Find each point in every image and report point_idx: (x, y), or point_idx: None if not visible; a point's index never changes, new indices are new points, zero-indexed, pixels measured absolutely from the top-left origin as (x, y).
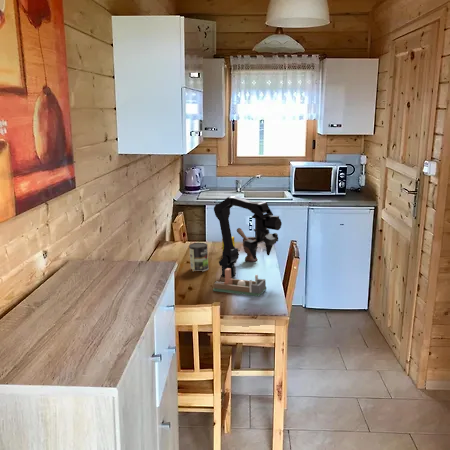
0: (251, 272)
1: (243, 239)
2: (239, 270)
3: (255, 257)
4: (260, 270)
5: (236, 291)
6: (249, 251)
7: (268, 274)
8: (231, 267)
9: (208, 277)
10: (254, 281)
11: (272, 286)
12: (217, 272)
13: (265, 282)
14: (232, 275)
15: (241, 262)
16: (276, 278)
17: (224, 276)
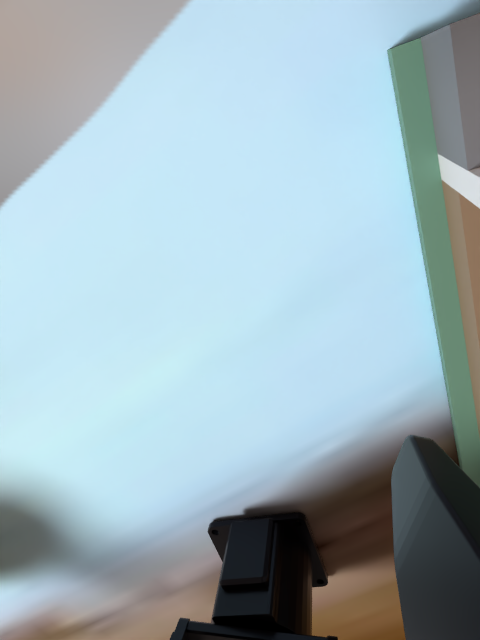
0: (102, 447)
1: None
2: (134, 533)
3: (452, 475)
4: (15, 414)
5: None
6: None
7: (30, 306)
8: (275, 598)
9: (392, 626)
10: (473, 207)
11: (283, 26)
12: None
13: (439, 29)
14: (277, 523)
15: (9, 585)
16: (49, 167)
17: (320, 558)
